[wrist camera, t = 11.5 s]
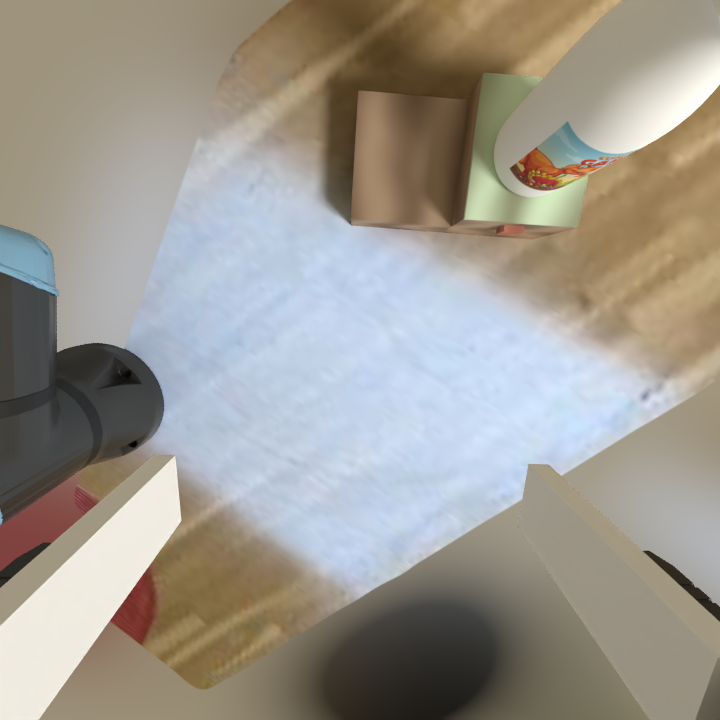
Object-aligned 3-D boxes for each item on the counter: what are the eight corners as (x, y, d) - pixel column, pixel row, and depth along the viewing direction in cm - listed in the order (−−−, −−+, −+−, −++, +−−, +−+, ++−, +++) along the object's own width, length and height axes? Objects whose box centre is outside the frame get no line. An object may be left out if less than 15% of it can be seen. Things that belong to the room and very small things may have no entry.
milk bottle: (473, 155, 30) (683, -80, 11) (538, 85, 29) (903, -321, 10) (527, 217, 32) (805, 105, 12) (592, 152, 30) (1015, -89, 11)
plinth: (350, 230, 40) (349, 216, 31) (358, 104, 37) (358, 53, 29) (531, 244, 40) (576, 234, 32) (553, 121, 37) (608, 75, 29)
